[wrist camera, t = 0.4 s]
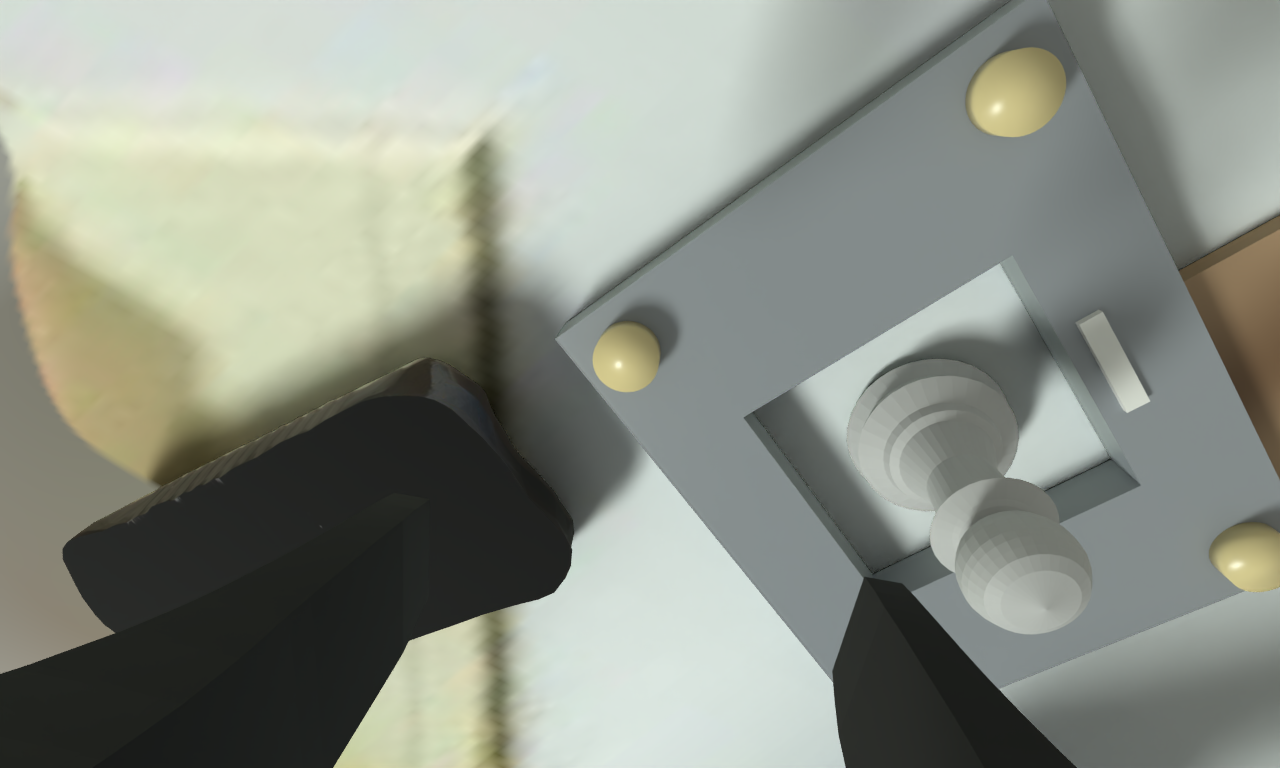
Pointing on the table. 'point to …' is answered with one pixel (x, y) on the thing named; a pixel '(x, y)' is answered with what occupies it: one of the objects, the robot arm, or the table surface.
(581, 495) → the table surface
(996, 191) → the cover plate
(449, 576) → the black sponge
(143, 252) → the table surface
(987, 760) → the robot arm
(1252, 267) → the walnut pad
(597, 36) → the table surface
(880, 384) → the chess piece
